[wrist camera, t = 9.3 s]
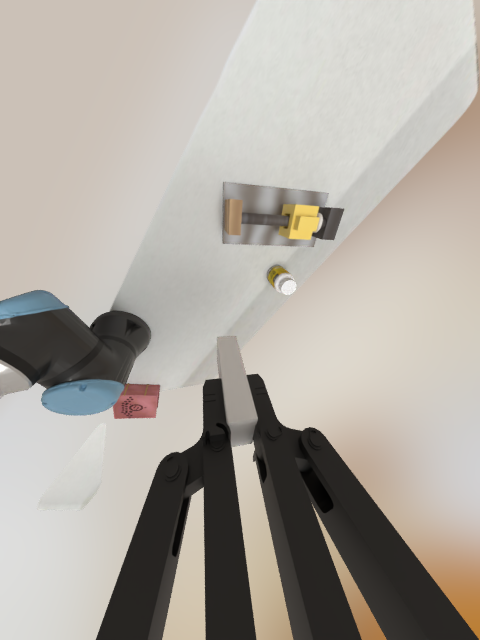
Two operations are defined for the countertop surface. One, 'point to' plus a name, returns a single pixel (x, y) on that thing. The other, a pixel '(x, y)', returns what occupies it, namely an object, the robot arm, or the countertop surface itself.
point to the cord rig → (271, 215)
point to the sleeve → (299, 221)
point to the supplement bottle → (281, 280)
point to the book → (137, 401)
